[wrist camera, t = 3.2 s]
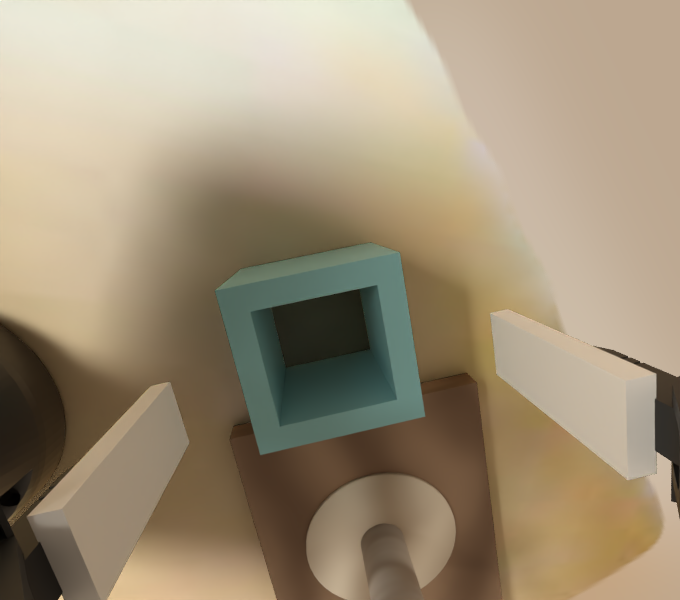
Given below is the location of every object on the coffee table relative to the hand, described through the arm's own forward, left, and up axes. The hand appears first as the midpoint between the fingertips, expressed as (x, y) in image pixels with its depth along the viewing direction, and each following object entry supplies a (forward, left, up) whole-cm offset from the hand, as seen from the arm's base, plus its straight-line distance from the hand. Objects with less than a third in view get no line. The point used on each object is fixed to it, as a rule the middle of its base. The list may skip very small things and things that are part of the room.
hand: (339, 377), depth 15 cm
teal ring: (0, 0, -9) cm, 9 cm away
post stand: (+1, -16, -9) cm, 18 cm away
